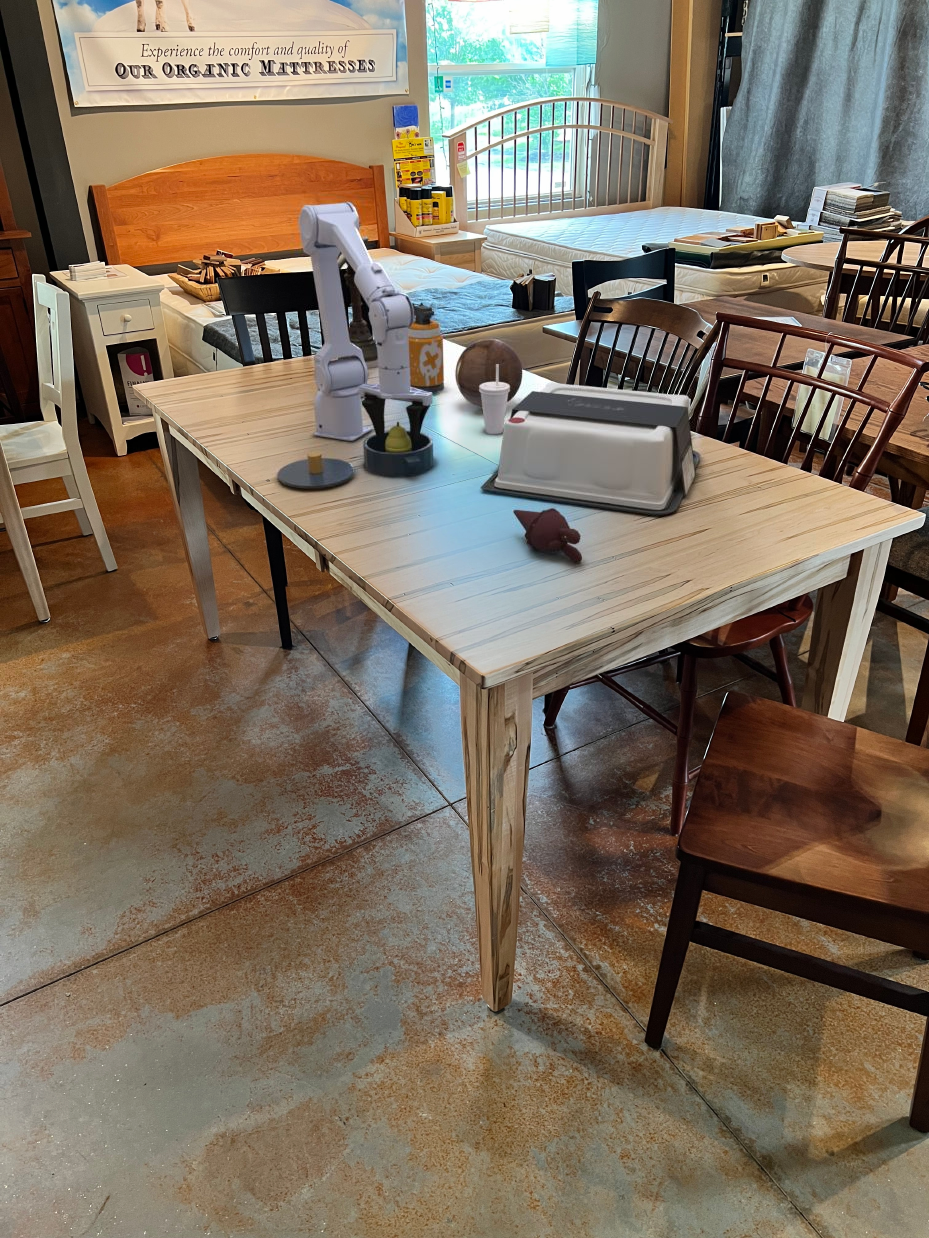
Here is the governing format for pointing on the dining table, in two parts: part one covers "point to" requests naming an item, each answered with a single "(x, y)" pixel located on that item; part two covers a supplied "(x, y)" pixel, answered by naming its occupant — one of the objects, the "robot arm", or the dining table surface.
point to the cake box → (598, 449)
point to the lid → (315, 472)
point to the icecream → (549, 532)
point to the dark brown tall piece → (358, 317)
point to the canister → (425, 351)
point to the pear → (398, 440)
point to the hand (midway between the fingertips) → (397, 437)
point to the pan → (397, 456)
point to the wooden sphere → (487, 368)
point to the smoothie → (494, 404)
